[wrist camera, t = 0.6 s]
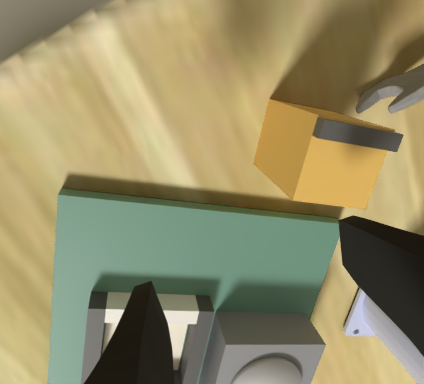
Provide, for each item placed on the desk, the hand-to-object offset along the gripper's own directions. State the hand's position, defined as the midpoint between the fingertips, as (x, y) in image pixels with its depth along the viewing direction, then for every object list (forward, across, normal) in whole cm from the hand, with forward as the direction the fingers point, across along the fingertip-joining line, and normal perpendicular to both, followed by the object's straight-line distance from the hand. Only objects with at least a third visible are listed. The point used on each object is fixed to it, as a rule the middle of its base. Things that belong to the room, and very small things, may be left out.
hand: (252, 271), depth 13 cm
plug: (+10, -6, -1) cm, 11 cm away
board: (+10, +3, +9) cm, 13 cm away
